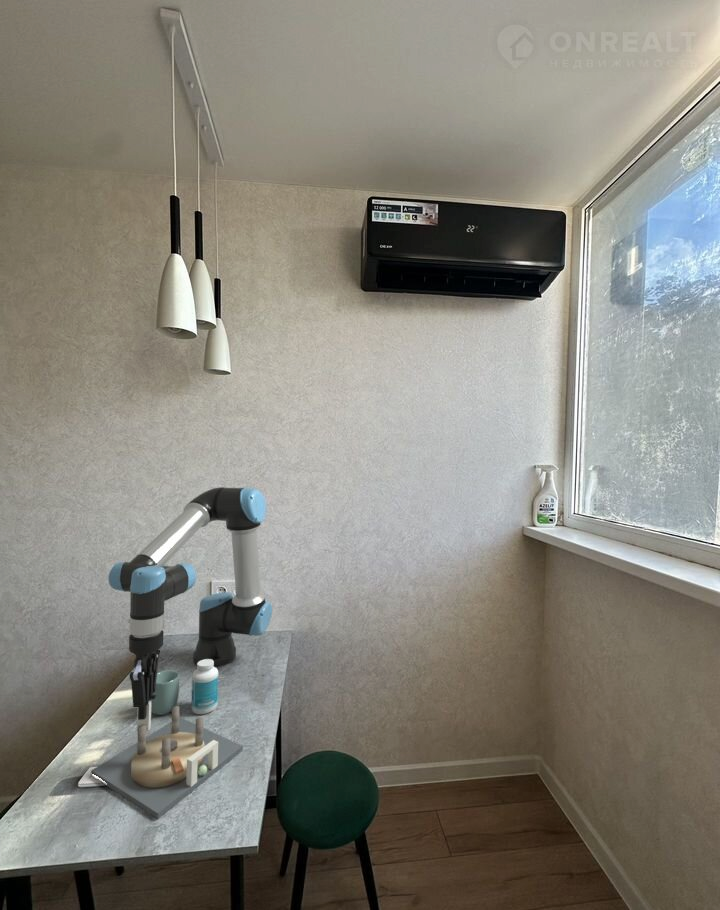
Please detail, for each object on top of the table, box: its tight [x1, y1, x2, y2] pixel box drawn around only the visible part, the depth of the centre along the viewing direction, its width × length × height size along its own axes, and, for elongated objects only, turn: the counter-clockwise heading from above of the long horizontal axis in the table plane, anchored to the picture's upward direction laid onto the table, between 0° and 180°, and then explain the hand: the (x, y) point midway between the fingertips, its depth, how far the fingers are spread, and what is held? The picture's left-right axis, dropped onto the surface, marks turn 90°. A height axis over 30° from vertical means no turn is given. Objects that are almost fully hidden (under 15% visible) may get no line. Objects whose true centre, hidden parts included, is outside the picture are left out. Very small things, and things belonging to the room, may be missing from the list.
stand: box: [90, 716, 244, 820], centre depth 104 cm, size 24×24×7 cm
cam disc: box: [131, 705, 205, 788], centre depth 102 cm, size 17×16×8 cm
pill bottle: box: [190, 659, 219, 715], centre depth 126 cm, size 8×7×14 cm
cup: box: [150, 669, 180, 716], centre depth 125 cm, size 8×8×10 cm
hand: (143, 729), depth 104 cm, fingers closed
